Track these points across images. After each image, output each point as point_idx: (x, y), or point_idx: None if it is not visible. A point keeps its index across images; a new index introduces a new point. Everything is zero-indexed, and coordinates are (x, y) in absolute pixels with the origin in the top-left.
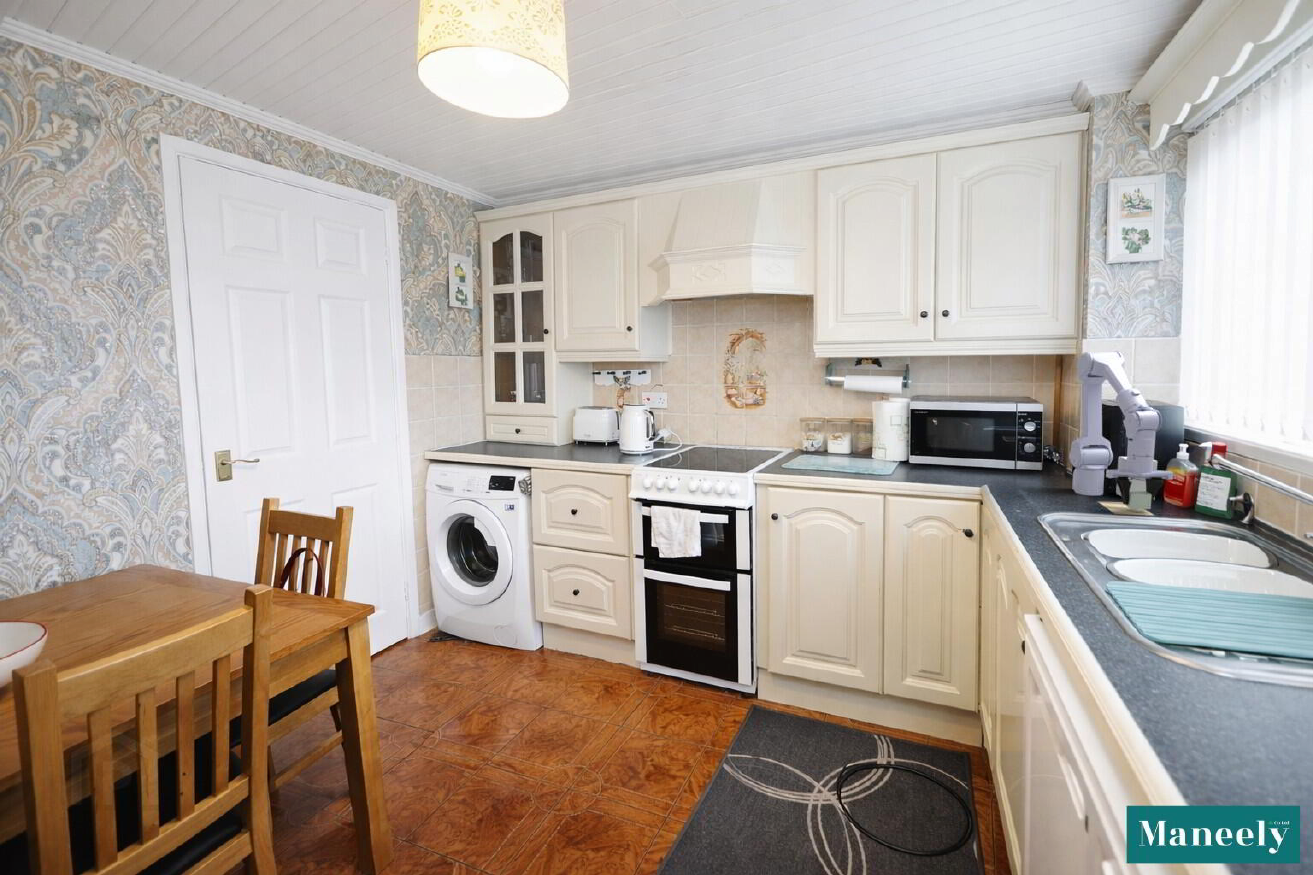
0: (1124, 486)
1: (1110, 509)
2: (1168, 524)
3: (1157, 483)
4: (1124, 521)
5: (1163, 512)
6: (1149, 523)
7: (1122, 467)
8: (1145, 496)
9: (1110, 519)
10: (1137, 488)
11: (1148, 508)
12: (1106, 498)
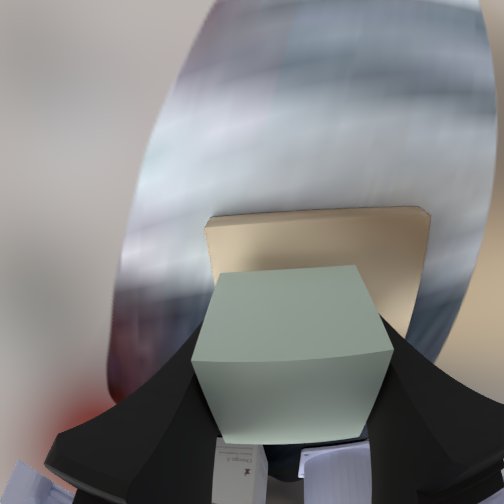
0: (475, 400)
1: (405, 312)
2: (160, 126)
3: (97, 459)
4: (393, 139)
5: (158, 358)
6: (262, 116)
7: None
8: (250, 342)
9: (444, 176)
10: (222, 478)
11: (232, 275)
12: (298, 453)
